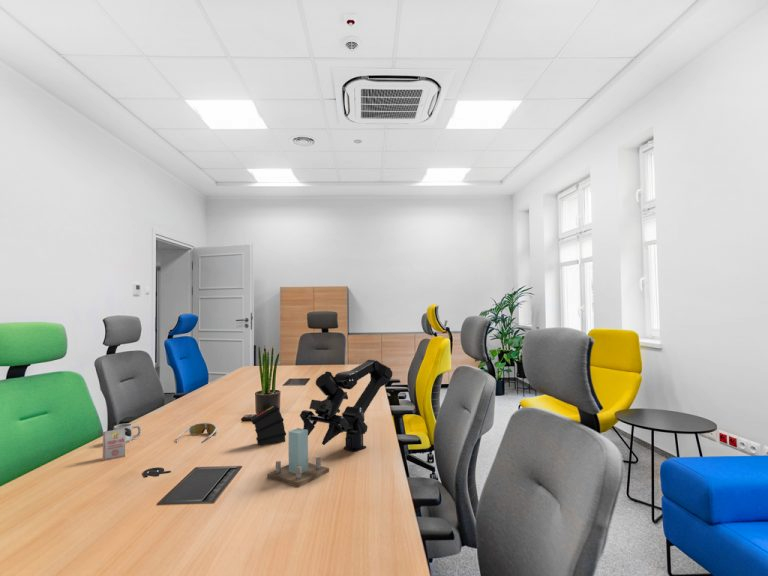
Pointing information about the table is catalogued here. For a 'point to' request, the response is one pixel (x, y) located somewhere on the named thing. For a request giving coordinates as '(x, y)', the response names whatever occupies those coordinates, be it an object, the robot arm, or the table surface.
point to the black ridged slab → (269, 426)
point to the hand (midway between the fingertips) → (312, 442)
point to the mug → (128, 431)
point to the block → (298, 450)
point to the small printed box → (113, 444)
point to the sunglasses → (201, 429)
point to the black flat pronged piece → (154, 472)
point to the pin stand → (298, 473)
